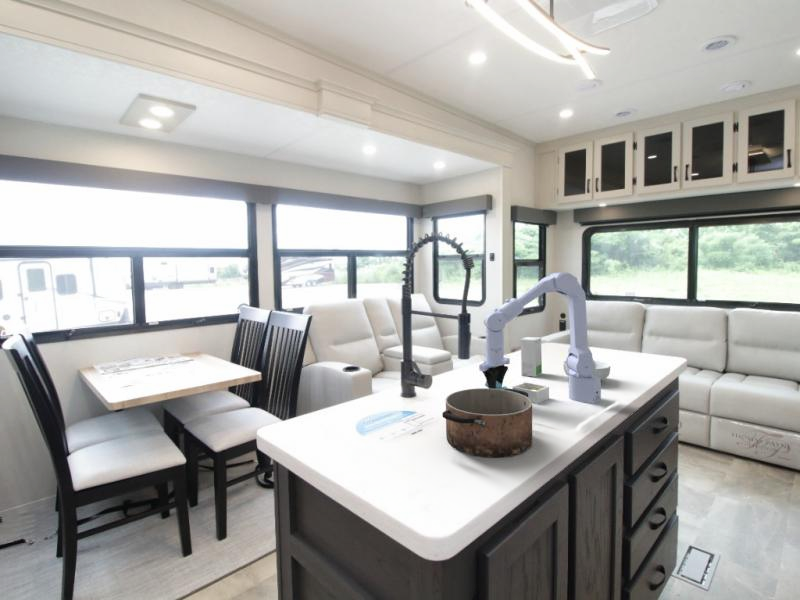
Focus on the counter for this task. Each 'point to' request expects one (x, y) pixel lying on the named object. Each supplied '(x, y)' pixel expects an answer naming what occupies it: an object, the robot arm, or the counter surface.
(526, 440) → the cooking pot
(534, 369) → the skincare box
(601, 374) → the cereal bowl
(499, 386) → the lid
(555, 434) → the counter surface
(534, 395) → the tub
